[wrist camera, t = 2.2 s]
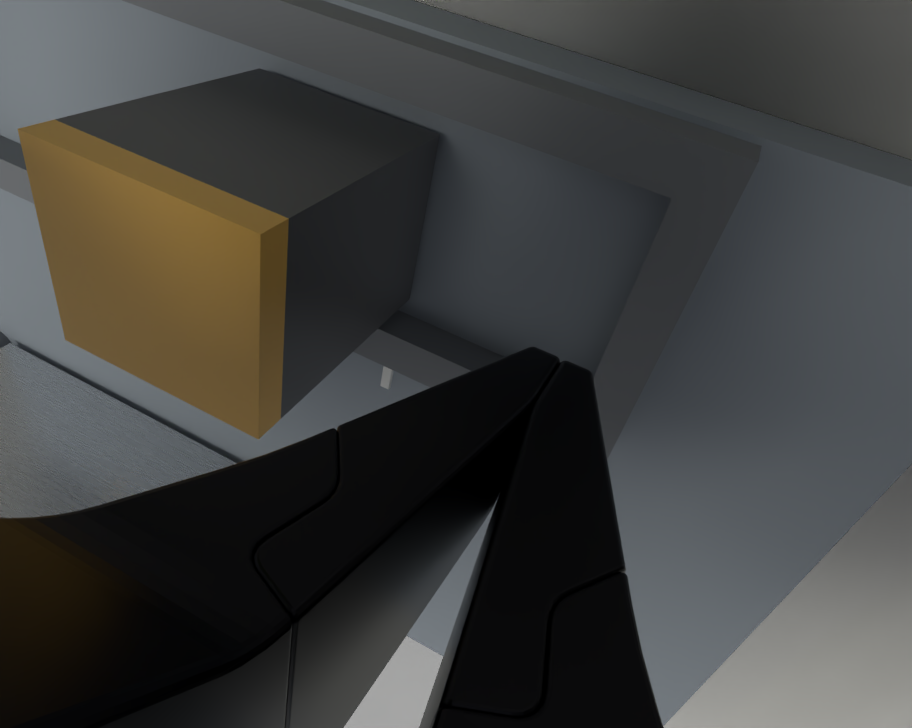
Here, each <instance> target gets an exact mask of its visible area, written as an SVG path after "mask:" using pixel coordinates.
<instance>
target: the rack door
mask: <svg viewBox="0 0 912 728" xmlns="http://www.w3.org/2000/svg"><path fill="white" fill-rule="evenodd" d="M234 464H237V463H236V462H234V461H232V460H230V459H228V458H226V457H224V456H222V455H220V454H219V453H217V452H215V451H213V450H211V449H209V448H207V447H205V446H203V445H202V444H200V443H198V442H196V441H194V440H192V439H190V438H188V437H186V436H185V435H183V434H181V433H179V432H177V431H175V430H173V429H171V428H169V427H168V426H166V425H164V424H162V423H160V422H158V421H156V420H154V419H153V418H151V417H149V416H147V415H145V414H143V413H141V412H139V411H137V410H136V409H134V408H132V407H130V406H128V405H126V404H124V403H122V402H120V401H119V400H117V399H115V398H113V397H111V396H109V395H107V394H105V393H103V392H102V391H100V390H98V389H96V388H94V387H92V386H90V385H88V384H87V383H85V382H83V381H81V380H79V379H77V378H75V377H73V376H71V375H70V374H68V373H66V372H64V371H62V370H60V369H58V368H56V367H54V366H53V365H51V364H49V363H47V362H45V361H43V360H41V359H39V358H37V357H36V356H34V355H32V354H30V353H28V352H26V351H24V350H22V349H20V348H19V347H17V346H15V345H13V344H11V343H9V344H7V345H5V346H4V347H2V348H0V517H5V518H24V517H39V516H48V515H56V514H61V513H67V512H72V511H78V510H81V509H85V508H89V507H93V506H97V505H101V504H104V503H107V502H111V501H114V500H117V499H121V498H124V497H127V496H131V495H134V494H138V493H141V492H144V491H148V490H151V489H154V488H158V487H161V486H164V485H168V484H171V483H175V482H178V481H181V480H185V479H188V478H191V477H195V476H198V475H201V474H205V473H208V472H212V471H215V470H218V469H221V468H224V467H228V466H231V465H234Z"/></svg>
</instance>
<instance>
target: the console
mask: <svg viewBox="0 0 912 728" xmlns="http://www.w3.org/2000/svg"><path fill="white" fill-rule="evenodd" d="M258 68H260V69H263V70H266V71H269V72H271V73H274V74H277V75H280V76H282V77H285V78H288V79H290V80H293V81H296V82H299V83H301V84H304V85H307V86H309V87H312V88H315V89H318V90H320V91H323V92H326V93H328V94H331V95H334V96H337V97H339V98H342V99H345V100H348V101H350V102H353V103H356V104H358V105H361V106H364V107H367V108H369V109H372V110H375V111H377V112H380V113H383V114H386V115H388V116H391V117H394V118H397V119H399V120H402V121H405V122H407V123H410V124H413V125H416V126H418V127H421V128H424V129H426V130H429V131H432V132H435V133H437V134H440V137H439V143H438V148H437V153H436V159H435V164H434V170H433V175H432V181H431V186H430V191H429V197H428V202H427V208H426V213H425V219H424V224H423V229H422V235H421V240H420V246H419V251H418V257H417V262H416V268H415V273H414V278H413V284H412V289H411V295H410V299H409V300H408V301H407V302H406V303H405V304H404V305H403V306H402V307H401V308H400V309H398V310H397V311H396V312H395V313H394V314H393V315H392V316H391V317H390V318H389V319H388V320H387V321H386V322H384V323H383V324H382V325H381V326H380V327H379V328H378V329H377V330H376V331H375V332H374V333H373V334H372V335H370V336H369V337H368V338H367V339H366V340H365V341H364V342H363V343H362V344H361V345H360V346H359V347H358V348H356V349H355V350H354V351H353V352H352V353H351V354H350V355H349V356H348V357H347V358H346V359H345V360H344V361H343V362H341V363H340V364H339V365H338V366H337V367H336V368H335V369H334V370H333V371H332V372H331V373H330V374H329V375H327V376H326V377H325V378H324V379H323V380H322V381H321V382H320V383H319V384H318V385H317V386H316V387H315V388H313V389H312V390H311V391H310V392H309V393H308V394H307V395H306V396H305V397H304V398H303V399H302V400H301V401H299V402H298V403H297V404H296V405H295V406H294V407H293V408H292V409H291V410H290V411H289V412H288V413H287V414H285V415H284V416H283V417H282V418H281V419H280V420H279V421H278V422H277V423H276V424H275V425H274V426H273V427H272V428H270V429H269V430H268V431H267V432H266V433H265V434H264V435H263V436H262V437H261V438H260V439H259V440H258V439H256V438H254V437H252V436H250V435H248V434H247V433H245V432H243V431H241V430H239V429H237V428H235V427H233V426H231V425H229V424H227V423H225V422H223V421H221V420H219V419H217V418H216V417H214V416H212V415H210V414H208V413H206V412H204V411H202V410H200V409H198V408H196V407H194V406H192V405H190V404H188V403H186V402H185V401H183V400H181V399H179V398H177V397H175V396H173V395H171V394H169V393H167V392H165V391H163V390H161V389H159V388H157V387H155V386H154V385H152V384H150V383H148V382H146V381H144V380H142V379H140V378H138V377H136V376H134V375H132V374H130V373H128V372H126V371H124V370H123V369H121V368H119V367H117V366H115V365H113V364H111V363H109V362H107V361H105V360H103V359H101V358H99V357H97V356H95V355H93V354H92V353H90V352H88V351H86V350H84V349H82V348H80V347H78V346H76V345H74V344H72V343H70V342H68V341H66V340H65V337H64V332H63V328H62V323H61V319H60V314H59V310H58V306H57V301H56V297H55V292H54V288H53V284H52V279H51V275H50V270H49V266H48V261H47V257H46V253H45V248H44V244H43V239H42V235H41V231H40V226H39V222H38V217H37V213H36V208H35V204H34V200H33V195H32V191H31V186H30V182H29V178H28V173H27V169H26V164H25V160H24V155H23V151H22V147H21V142H20V138H19V133H18V129H19V128H23V127H27V126H31V125H35V124H39V123H43V122H47V121H51V120H55V119H59V118H63V117H67V116H71V115H75V114H79V113H83V112H87V111H91V110H95V109H99V108H103V107H107V106H111V105H115V104H119V103H123V102H127V101H131V100H135V99H138V98H142V97H146V96H150V95H154V94H158V93H162V92H166V91H170V90H174V89H178V88H182V87H186V86H190V85H194V84H198V83H202V82H206V81H210V80H214V79H218V78H222V77H226V76H230V75H234V74H238V73H242V72H246V71H250V70H254V69H258ZM9 343H11V344H13V345H15V346H17V347H19V348H20V349H22V350H24V351H26V352H28V353H30V354H32V355H34V356H36V357H37V358H39V359H41V360H43V361H45V362H47V363H49V364H51V365H53V366H54V367H56V368H58V369H60V370H62V371H64V372H66V373H68V374H70V375H71V376H73V377H75V378H77V379H79V380H81V381H83V382H85V383H87V384H88V385H90V386H92V387H94V388H96V389H98V390H100V391H102V392H103V393H105V394H107V395H109V396H111V397H113V398H115V399H117V400H119V401H120V402H122V403H124V404H126V405H128V406H130V407H132V408H134V409H136V410H137V411H139V412H141V413H143V414H145V415H147V416H149V417H151V418H153V419H154V420H156V421H158V422H160V423H162V424H164V425H166V426H168V427H169V428H171V429H173V430H175V431H177V432H179V433H181V434H183V435H185V436H186V437H188V438H190V439H192V440H194V441H196V442H198V443H200V444H202V445H203V446H205V447H207V448H209V449H211V450H213V451H215V452H217V453H219V454H220V455H222V456H224V457H226V458H228V459H230V460H232V461H234V462H236V463H240V462H243V461H246V460H249V459H252V458H255V457H258V456H262V455H265V454H268V453H270V452H273V451H275V450H278V449H281V448H283V447H286V446H289V445H291V444H294V443H296V442H299V441H302V440H304V439H307V438H309V437H312V436H314V435H317V434H319V433H322V432H324V431H326V430H329V429H331V428H334V429H336V430H337V427H338V426H339V425H342V424H344V423H346V422H349V421H351V420H354V419H356V418H359V417H361V416H363V415H366V414H368V413H371V412H373V411H375V410H378V409H380V408H383V407H385V406H388V405H390V404H392V403H395V402H397V401H400V400H402V399H405V398H407V397H409V396H412V395H414V394H417V393H419V392H421V391H424V390H426V389H429V388H431V387H434V386H436V385H438V384H441V383H443V382H446V381H448V380H450V379H453V378H455V377H458V376H460V375H463V374H465V373H467V372H470V371H472V370H475V369H477V368H480V367H482V366H484V365H487V364H489V363H492V362H494V361H496V360H499V359H501V358H504V357H506V356H509V355H511V354H513V353H516V352H518V351H521V350H523V349H526V348H528V347H537V348H539V349H541V350H544V351H546V352H548V353H551V354H553V355H555V356H557V357H558V358H559V359H560V362H562V361H569V362H571V363H574V364H576V365H578V366H581V367H583V368H586V369H588V370H590V371H591V373H592V375H593V379H594V385H595V391H596V397H597V403H598V408H599V414H600V420H601V426H602V432H603V438H604V443H605V449H606V455H607V461H608V467H609V473H610V479H611V484H612V490H613V496H614V502H615V508H616V514H617V519H618V525H619V531H620V537H621V543H622V549H623V554H624V560H625V566H626V571H625V574H626V575H627V576H628V582H629V588H630V593H631V599H632V605H633V610H634V615H635V620H636V624H637V629H638V634H639V639H640V644H641V648H642V653H643V657H644V660H645V664H646V668H647V671H648V675H649V678H650V682H651V686H652V689H653V693H654V696H655V700H656V704H657V707H658V711H659V714H660V717H661V721H662V724H663V726H664V725H665V724H666V723H667V721H668V720H669V719H670V718H671V717H672V716H673V715H674V714H675V713H676V712H677V711H678V710H679V709H680V708H681V707H682V706H683V705H684V704H685V702H686V701H687V700H688V699H689V698H690V697H691V696H692V695H693V694H694V693H695V692H696V691H697V690H698V689H699V688H700V687H701V686H702V685H703V684H704V682H705V681H706V680H707V679H708V678H709V677H710V676H711V675H712V674H713V673H714V672H715V671H716V670H717V669H718V668H719V667H720V666H721V665H722V663H723V662H724V661H725V660H726V659H727V658H728V657H729V656H730V655H731V654H732V653H733V652H734V651H735V650H736V649H737V648H738V647H739V646H740V644H741V643H742V642H743V641H744V640H745V639H746V638H747V637H748V636H749V635H750V634H751V633H752V632H753V631H754V630H755V629H756V628H757V627H758V625H759V624H760V623H761V622H762V621H763V620H764V619H765V618H766V617H767V616H768V615H769V614H770V613H771V612H772V611H773V610H774V609H775V608H776V606H777V605H778V604H779V603H780V602H781V601H782V600H783V599H784V598H785V597H786V596H787V595H788V594H789V593H790V592H791V591H792V590H793V589H794V587H795V586H796V585H797V584H798V583H799V582H800V581H801V580H802V579H803V578H804V577H805V576H806V575H807V574H808V573H809V572H810V571H811V570H812V569H813V567H814V566H815V565H816V564H817V563H818V562H819V561H820V560H821V559H822V558H823V557H824V556H825V555H826V554H827V553H828V552H829V551H830V550H831V548H832V547H833V546H834V545H835V544H836V543H837V542H838V541H839V540H840V539H841V538H842V537H843V536H844V535H845V534H846V533H847V532H848V531H849V529H850V528H851V527H852V526H853V525H854V524H855V523H856V522H857V521H858V520H859V519H860V518H861V517H862V516H863V515H864V514H865V513H866V512H867V510H868V509H869V508H870V507H871V506H872V505H873V504H874V503H875V502H876V501H877V500H878V499H879V498H880V497H881V496H882V495H883V494H884V493H885V491H886V490H887V489H888V488H889V487H890V486H891V485H892V484H893V483H894V482H895V481H896V480H897V479H898V478H899V477H900V476H901V475H902V474H903V472H904V471H905V470H906V469H907V468H908V467H909V466H910V465H911V464H912V160H909V159H906V158H903V157H900V156H897V155H894V154H890V153H887V152H884V151H881V150H878V149H875V148H872V147H869V146H865V145H862V144H859V143H856V142H853V141H850V140H847V139H844V138H841V137H837V136H834V135H831V134H828V133H825V132H822V131H819V130H816V129H812V128H809V127H806V126H803V125H800V124H797V123H794V122H791V121H788V120H784V119H781V118H778V117H775V116H772V115H769V114H766V113H763V112H759V111H756V110H753V109H750V108H747V107H744V106H741V105H738V104H735V103H731V102H728V101H725V100H722V99H719V98H716V97H713V96H710V95H706V94H703V93H700V92H697V91H694V90H691V89H688V88H685V87H682V86H678V85H675V84H672V83H669V82H666V81H663V80H660V79H657V78H653V77H650V76H647V75H644V74H641V73H638V72H635V71H632V70H629V69H625V68H622V67H619V66H616V65H613V64H610V63H607V62H604V61H600V60H597V59H594V58H591V57H588V56H585V55H582V54H579V53H576V52H572V51H569V50H566V49H563V48H560V47H557V46H554V45H551V44H547V43H544V42H541V41H538V40H535V39H532V38H529V37H526V36H523V35H519V34H516V33H513V32H510V31H507V30H504V29H501V28H498V27H494V26H491V25H488V24H485V23H482V22H479V21H476V20H473V19H470V18H466V17H463V16H460V15H457V14H454V13H451V12H448V11H445V10H441V9H438V8H435V7H432V6H429V5H426V4H423V3H420V2H417V1H413V0H0V348H2V347H4V346H5V345H7V344H9ZM496 502H497V501H496ZM495 505H496V503H495ZM495 505H494V507H493V509H492V510H491V512H490V513H489V515H488V516H487V518H486V520H485V521H484V523H483V524H482V526H481V527H480V529H479V530H478V531H477V533H476V534H475V536H474V537H473V539H472V540H471V542H470V543H469V545H468V546H467V548H466V549H465V551H464V552H463V553H462V555H461V556H460V558H459V559H458V561H457V562H456V564H455V565H454V567H453V568H452V570H451V571H450V572H449V574H448V575H447V577H446V578H445V580H444V581H443V583H442V584H441V586H440V587H439V589H438V590H437V591H436V593H435V594H434V596H433V597H432V599H431V600H430V602H429V603H428V605H427V606H426V608H425V609H424V611H423V612H422V613H421V615H420V616H419V618H418V619H417V621H416V622H415V624H414V625H413V627H412V628H411V630H410V631H409V632H408V634H407V635H406V636H408V637H410V638H412V639H413V640H415V641H417V642H419V643H421V644H422V645H424V646H426V647H428V648H429V649H431V650H433V651H435V652H437V653H438V654H440V655H442V656H444V653H445V650H446V647H447V644H448V642H449V639H450V636H451V633H452V630H453V627H454V624H455V621H456V618H457V615H458V612H459V609H460V606H461V603H462V600H463V597H464V594H465V591H466V589H467V586H468V583H469V580H470V577H471V574H472V571H473V568H474V565H475V562H476V559H477V556H478V553H479V550H480V547H481V544H482V541H483V539H484V536H485V533H486V530H487V527H488V524H489V521H490V518H491V516H492V513H493V510H494V508H495Z"/></svg>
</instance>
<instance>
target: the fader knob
mask: <svg viewBox="0 0 912 728" xmlns="http://www.w3.org/2000/svg"><path fill="white" fill-rule="evenodd" d="M18 133H19V138H20V142H21V147H22V151H23V155H24V160H25V164H26V169H27V173H28V178H29V182H30V186H31V191H32V195H33V200H34V204H35V208H36V213H37V217H38V222H39V226H40V231H41V235H42V239H43V244H44V248H45V253H46V257H47V261H48V266H49V270H50V275H51V279H52V284H53V288H54V292H55V297H56V301H57V306H58V310H59V314H60V319H61V323H62V328H63V332H64V337H65V340H66V341H68V342H70V343H72V344H74V345H76V346H78V347H80V348H82V349H84V350H86V351H88V352H90V353H92V354H93V355H95V356H97V357H99V358H101V359H103V360H105V361H107V362H109V363H111V364H113V365H115V366H117V367H119V368H121V369H123V370H124V371H126V372H128V373H130V374H132V375H134V376H136V377H138V378H140V379H142V380H144V381H146V382H148V383H150V384H152V385H154V386H155V387H157V388H159V389H161V390H163V391H165V392H167V393H169V394H171V395H173V396H175V397H177V398H179V399H181V400H183V401H185V402H186V403H188V404H190V405H192V406H194V407H196V408H198V409H200V410H202V411H204V412H206V413H208V414H210V415H212V416H214V417H216V418H217V419H219V420H221V421H223V422H225V423H227V424H229V425H231V426H233V427H235V428H237V429H239V430H241V431H243V432H245V433H247V434H248V435H250V436H252V437H254V438H256V439H258V440H259V439H260V438H261V437H262V436H263V435H264V434H265V433H266V432H267V431H268V430H269V429H270V428H272V427H273V426H274V425H275V424H276V423H277V422H278V421H279V420H280V419H281V418H282V417H283V416H284V415H285V414H287V413H288V412H289V411H290V410H291V409H292V408H293V407H294V406H295V405H296V404H297V403H298V402H299V401H301V400H302V399H303V398H304V397H305V396H306V395H307V394H308V393H309V392H310V391H311V390H312V389H313V388H315V387H316V386H317V385H318V384H319V383H320V382H321V381H322V380H323V379H324V378H325V377H326V376H327V375H329V374H330V373H331V372H332V371H333V370H334V369H335V368H336V367H337V366H338V365H339V364H340V363H341V362H343V361H344V360H345V359H346V358H347V357H348V356H349V355H350V354H351V353H352V352H353V351H354V350H355V349H356V348H358V347H359V346H360V345H361V344H362V343H363V342H364V341H365V340H366V339H367V338H368V337H369V336H370V335H372V334H373V333H374V332H375V331H376V330H377V329H378V328H379V327H380V326H381V325H382V324H383V323H384V322H386V321H387V320H388V319H389V318H390V317H391V316H392V315H393V314H394V313H395V312H396V311H397V310H398V309H400V308H401V307H402V306H403V305H404V304H405V303H406V302H407V301H408V300H409V299H410V295H411V289H412V284H413V278H414V273H415V268H416V262H417V257H418V251H419V246H420V240H421V235H422V229H423V224H424V219H425V213H426V208H427V202H428V197H429V191H430V186H431V181H432V175H433V170H434V164H435V159H436V153H437V148H438V143H439V137H440V134H437V133H435V132H432V131H429V130H426V129H424V128H421V127H418V126H416V125H413V124H410V123H407V122H405V121H402V120H399V119H397V118H394V117H391V116H388V115H386V114H383V113H380V112H377V111H375V110H372V109H369V108H367V107H364V106H361V105H358V104H356V103H353V102H350V101H348V100H345V99H342V98H339V97H337V96H334V95H331V94H328V93H326V92H323V91H320V90H318V89H315V88H312V87H309V86H307V85H304V84H301V83H299V82H296V81H293V80H290V79H288V78H285V77H282V76H280V75H277V74H274V73H271V72H269V71H266V70H263V69H260V68H258V69H254V70H250V71H246V72H242V73H238V74H234V75H230V76H226V77H222V78H218V79H214V80H210V81H206V82H202V83H198V84H194V85H190V86H186V87H182V88H178V89H174V90H170V91H166V92H162V93H158V94H154V95H150V96H146V97H142V98H138V99H135V100H131V101H127V102H123V103H119V104H115V105H111V106H107V107H103V108H99V109H95V110H91V111H87V112H83V113H79V114H75V115H71V116H67V117H63V118H59V119H55V120H51V121H47V122H43V123H39V124H35V125H31V126H27V127H23V128H19V129H18Z"/></svg>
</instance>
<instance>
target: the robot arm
mask: <svg viewBox="0 0 912 728" xmlns="http://www.w3.org/2000/svg"><path fill="white" fill-rule="evenodd" d="M496 501H497V502H496ZM495 503H496V505H495ZM494 505H495V508H494V510H493V513H492V516H491V518H490V521H489V524H488V527H487V530H486V533H485V536H484V539H483V541H482V544H481V547H480V550H479V553H478V556H477V559H476V562H475V565H474V568H473V571H472V574H471V577H470V580H469V583H468V586H467V589H466V591H465V594H464V597H463V600H462V603H461V606H460V609H459V612H458V615H457V618H456V621H455V624H454V627H453V630H452V633H451V636H450V639H449V642H448V644H447V647H446V650H445V653H444V656H443V659H442V662H441V665H440V668H439V671H438V674H437V677H436V680H435V683H434V686H433V689H432V692H431V694H430V697H429V700H428V703H427V706H426V709H425V712H424V715H423V718H422V721H421V724H420V727H419V728H664V727H663V724H662V721H661V717H660V714H659V711H658V707H657V704H656V700H655V696H654V693H653V689H652V686H651V682H650V678H649V675H648V671H647V668H646V664H645V660H644V657H643V653H642V648H641V644H640V639H639V634H638V629H637V624H636V620H635V615H634V610H633V605H632V599H631V593H630V588H629V582H628V576H627V575H626V574H625V571H626V566H625V560H624V554H623V549H622V543H621V537H620V531H619V525H618V519H617V514H616V508H615V502H614V496H613V490H612V484H611V479H610V473H609V467H608V461H607V455H606V449H605V443H604V438H603V432H602V426H601V420H600V414H599V408H598V403H597V397H596V391H595V385H594V379H593V375H592V373H591V371H590V370H588V369H586V368H583V367H581V366H578V365H576V364H574V363H571V362H569V361H562V362H560V359H559V358H558V357H557V356H555V355H553V354H551V353H548V352H546V351H544V350H541V349H539V348H537V347H528V348H526V349H523V350H521V351H518V352H516V353H513V354H511V355H509V356H506V357H504V358H501V359H499V360H496V361H494V362H492V363H489V364H487V365H484V366H482V367H480V368H477V369H475V370H472V371H470V372H467V373H465V374H463V375H460V376H458V377H455V378H453V379H450V380H448V381H446V382H443V383H441V384H438V385H436V386H434V387H431V388H429V389H426V390H424V391H421V392H419V393H417V394H414V395H412V396H409V397H407V398H405V399H402V400H400V401H397V402H395V403H392V404H390V405H388V406H385V407H383V408H380V409H378V410H375V411H373V412H371V413H368V414H366V415H363V416H361V417H359V418H356V419H354V420H351V421H349V422H346V423H344V424H342V425H339V426H338V427H337V430H336V429H334V428H331V429H329V430H326V431H324V432H322V433H319V434H317V435H314V436H312V437H309V438H307V439H304V440H302V441H299V442H296V443H294V444H291V445H289V446H286V447H283V448H281V449H278V450H275V451H273V452H270V453H268V454H265V455H262V456H258V457H255V458H252V459H249V460H246V461H243V462H240V463H237V464H234V465H231V466H228V467H224V468H221V469H218V470H215V471H212V472H208V473H205V474H201V475H198V476H195V477H191V478H188V479H185V480H181V481H178V482H175V483H171V484H168V485H164V486H161V487H158V488H154V489H151V490H148V491H144V492H141V493H138V494H134V495H131V496H127V497H124V498H121V499H117V500H114V501H111V502H107V503H104V504H101V505H97V506H93V507H89V508H85V509H81V510H78V511H72V512H67V513H61V514H56V515H48V516H39V517H24V518H5V517H0V728H344V726H345V725H346V723H347V722H348V720H349V719H350V717H351V716H352V714H353V713H354V711H355V710H356V709H357V707H358V706H359V704H360V703H361V701H362V700H363V698H364V697H365V695H366V694H367V692H368V691H369V690H370V688H371V687H372V685H373V684H374V682H375V681H376V679H377V678H378V676H379V675H380V673H381V672H382V671H383V669H384V668H385V666H386V665H387V663H388V662H389V660H390V659H391V657H392V656H393V654H394V653H395V651H396V650H397V649H398V647H399V646H400V644H401V643H402V641H403V640H404V638H405V637H406V635H407V634H408V632H409V631H410V630H411V628H412V627H413V625H414V624H415V622H416V621H417V619H418V618H419V616H420V615H421V613H422V612H423V611H424V609H425V608H426V606H427V605H428V603H429V602H430V600H431V599H432V597H433V596H434V594H435V593H436V591H437V590H438V589H439V587H440V586H441V584H442V583H443V581H444V580H445V578H446V577H447V575H448V574H449V572H450V571H451V570H452V568H453V567H454V565H455V564H456V562H457V561H458V559H459V558H460V556H461V555H462V553H463V552H464V551H465V549H466V548H467V546H468V545H469V543H470V542H471V540H472V539H473V537H474V536H475V534H476V533H477V531H478V530H479V529H480V527H481V526H482V524H483V523H484V521H485V520H486V518H487V516H488V515H489V513H490V512H491V510H492V509H493V507H494Z"/></svg>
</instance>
